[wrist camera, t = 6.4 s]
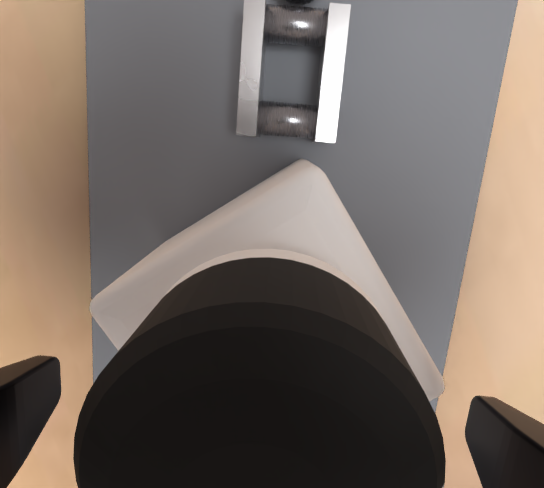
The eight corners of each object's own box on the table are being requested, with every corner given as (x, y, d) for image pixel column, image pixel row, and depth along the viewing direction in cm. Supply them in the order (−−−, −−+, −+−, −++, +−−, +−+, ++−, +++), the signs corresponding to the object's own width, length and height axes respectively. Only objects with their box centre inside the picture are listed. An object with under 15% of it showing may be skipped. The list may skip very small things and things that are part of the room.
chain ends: (285, 543, 21) (285, 584, 19) (216, 536, 21) (208, 576, 19) (360, -123, 14) (372, -165, 12) (257, -130, 14) (252, -174, 12)
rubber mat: (402, 553, 21) (405, 563, 21) (101, 524, 22) (96, 532, 21) (534, -117, 14) (543, -126, 14) (87, -150, 15) (80, -161, 14)
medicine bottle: (160, 243, 17) (-93, 438, 6) (305, 155, 16) (351, 173, 5) (249, 373, 19) (188, 747, 7) (388, 298, 18) (587, 593, 6)
